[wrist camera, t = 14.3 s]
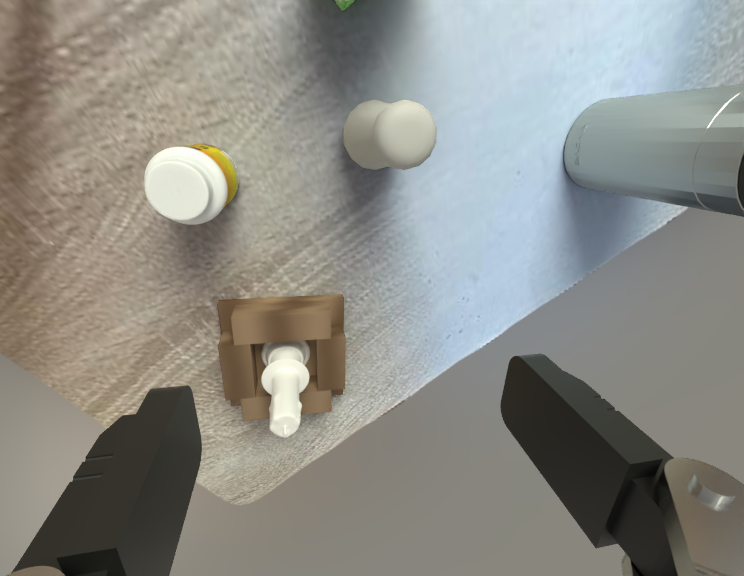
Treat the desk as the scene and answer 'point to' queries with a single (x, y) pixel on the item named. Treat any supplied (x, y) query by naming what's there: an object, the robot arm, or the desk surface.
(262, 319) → the wooden square tray
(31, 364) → the desk surface
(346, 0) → the ink box
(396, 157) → the salt shaker
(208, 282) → the desk surface
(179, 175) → the supplement bottle
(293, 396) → the candle
